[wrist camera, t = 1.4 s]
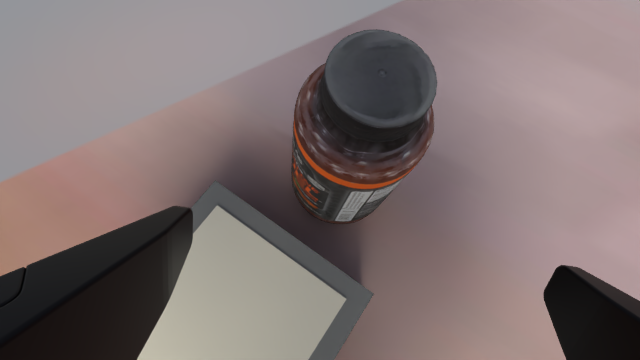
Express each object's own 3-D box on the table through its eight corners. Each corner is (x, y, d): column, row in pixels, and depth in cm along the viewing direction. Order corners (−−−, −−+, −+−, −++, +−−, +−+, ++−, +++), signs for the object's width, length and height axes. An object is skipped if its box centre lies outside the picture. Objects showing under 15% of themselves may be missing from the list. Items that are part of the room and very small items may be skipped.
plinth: (252, 474, 18) (245, 506, 15) (98, 346, 19) (63, 353, 16) (362, 296, 21) (374, 293, 18) (224, 197, 22) (214, 179, 19)
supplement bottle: (274, 160, 23) (265, 33, 13) (355, 124, 25) (407, -16, 14) (318, 244, 22) (348, 180, 11) (401, 201, 23) (500, 109, 12)
